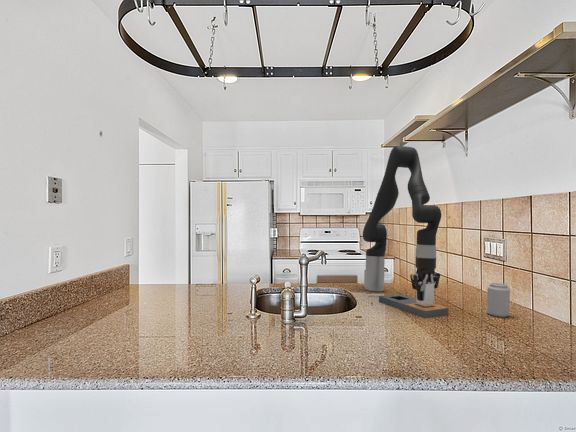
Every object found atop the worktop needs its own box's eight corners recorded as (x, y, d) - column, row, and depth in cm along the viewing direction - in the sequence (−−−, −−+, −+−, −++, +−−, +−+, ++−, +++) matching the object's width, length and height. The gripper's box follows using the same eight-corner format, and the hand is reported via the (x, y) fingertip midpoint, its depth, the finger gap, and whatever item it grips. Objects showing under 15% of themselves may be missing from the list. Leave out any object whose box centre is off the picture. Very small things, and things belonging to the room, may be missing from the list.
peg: (416, 307, 142) (416, 282, 142) (424, 306, 144) (425, 281, 144) (425, 310, 138) (425, 284, 138) (433, 309, 140) (434, 283, 140)
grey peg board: (378, 301, 157) (378, 295, 157) (400, 299, 162) (400, 293, 162) (425, 317, 133) (425, 310, 133) (448, 314, 138) (448, 307, 138)
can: (482, 313, 141) (483, 282, 141) (495, 311, 144) (495, 281, 144) (500, 318, 134) (501, 286, 134) (513, 316, 137) (514, 285, 137)
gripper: (431, 254, 148) (430, 296, 148) (404, 255, 141) (403, 299, 141) (446, 256, 141) (445, 300, 141) (419, 257, 135) (418, 303, 135)
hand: (424, 299), depth 141 cm, fingers closed on peg, 4 cm apart
